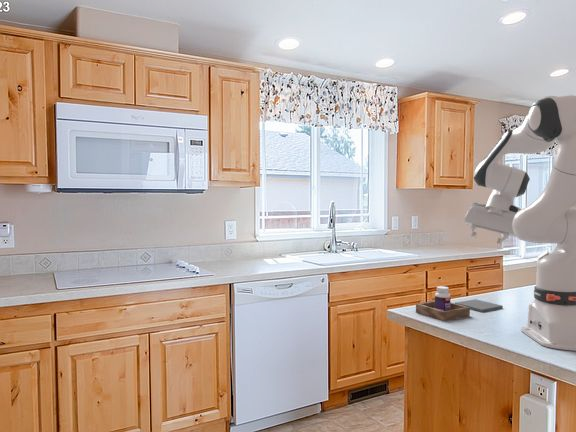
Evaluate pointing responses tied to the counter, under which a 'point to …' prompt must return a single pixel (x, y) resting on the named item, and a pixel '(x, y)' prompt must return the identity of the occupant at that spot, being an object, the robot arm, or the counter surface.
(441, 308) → the pill bottle
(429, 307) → the wooden tray
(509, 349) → the counter surface
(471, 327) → the counter surface
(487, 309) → the rubber mat
